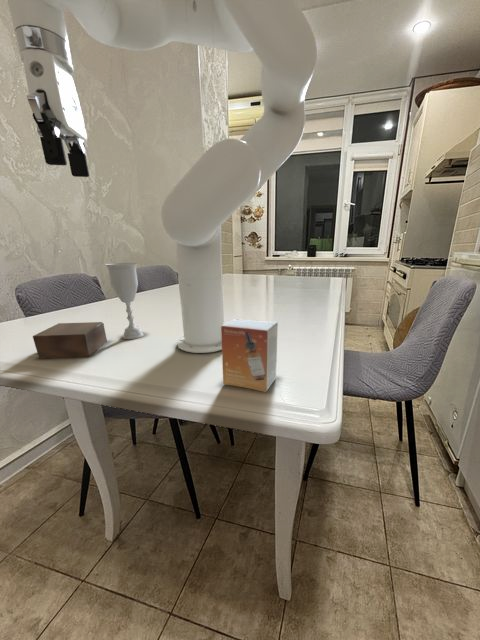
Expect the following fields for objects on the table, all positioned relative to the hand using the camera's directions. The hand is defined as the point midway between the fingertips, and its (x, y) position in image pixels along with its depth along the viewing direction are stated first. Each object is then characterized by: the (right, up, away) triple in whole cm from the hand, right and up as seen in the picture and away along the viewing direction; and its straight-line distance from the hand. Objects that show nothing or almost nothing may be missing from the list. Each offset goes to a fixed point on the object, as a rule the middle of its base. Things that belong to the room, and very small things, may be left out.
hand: (69, 171), depth 55 cm
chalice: (+3, -31, +20) cm, 37 cm away
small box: (+35, -40, -5) cm, 53 cm away
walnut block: (-6, -34, +10) cm, 36 cm away
